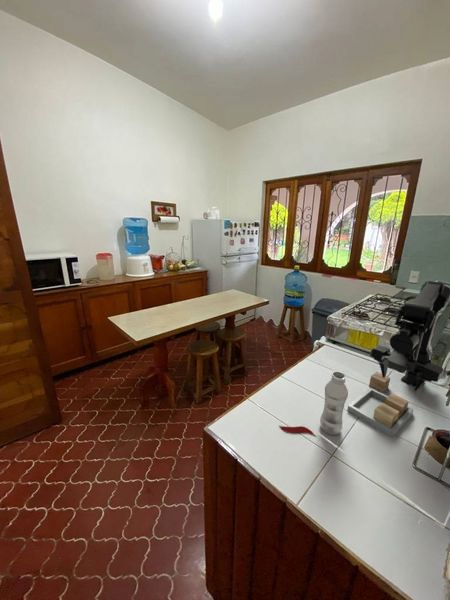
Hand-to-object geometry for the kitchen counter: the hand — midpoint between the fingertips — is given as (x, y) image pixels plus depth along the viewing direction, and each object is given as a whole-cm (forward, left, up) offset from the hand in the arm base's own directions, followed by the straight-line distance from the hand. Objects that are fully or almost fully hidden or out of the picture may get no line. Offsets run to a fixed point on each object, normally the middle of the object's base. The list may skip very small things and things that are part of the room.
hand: (398, 383), depth 83 cm
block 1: (-9, -8, -11) cm, 17 cm away
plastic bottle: (+25, -8, -11) cm, 29 cm away
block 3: (+1, +1, -10) cm, 10 cm away
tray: (+5, -2, -11) cm, 12 cm away
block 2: (+9, +1, -10) cm, 14 cm away
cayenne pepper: (+34, -14, -11) cm, 38 cm away
